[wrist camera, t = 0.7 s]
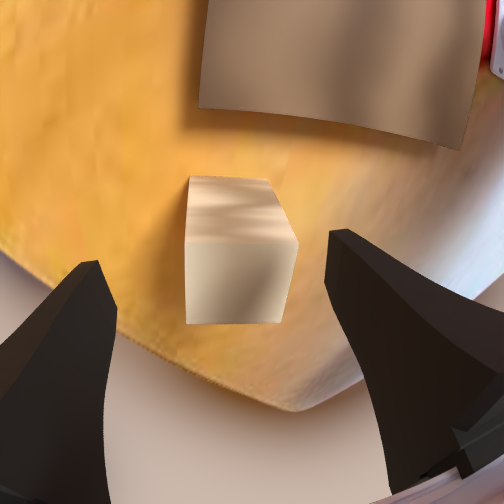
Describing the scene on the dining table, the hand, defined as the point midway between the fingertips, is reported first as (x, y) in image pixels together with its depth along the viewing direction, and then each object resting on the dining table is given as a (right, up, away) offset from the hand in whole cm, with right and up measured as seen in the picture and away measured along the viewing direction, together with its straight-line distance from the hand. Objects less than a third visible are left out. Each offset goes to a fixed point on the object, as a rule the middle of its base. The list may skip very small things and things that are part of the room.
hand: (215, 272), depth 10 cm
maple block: (0, +3, +10) cm, 10 cm away
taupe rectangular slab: (+7, +14, +3) cm, 16 cm away
